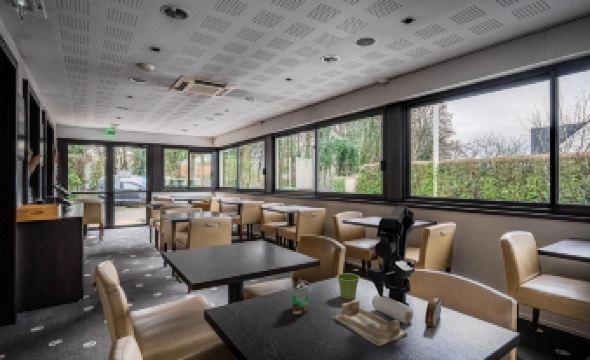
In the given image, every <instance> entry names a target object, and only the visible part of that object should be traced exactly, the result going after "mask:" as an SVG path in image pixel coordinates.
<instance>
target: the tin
mask: <svg viewBox="0 0 590 360" xmlns="http://www.w3.org/2000/svg"><path fill="white" fill-rule="evenodd" d="M442 300H443V298H442V296H439V295H437V294H432V296H431V298H429V301H428V302H427V306H426V310H425V317H424V321H425V322H424V324H425V326H429V327H432V328H435V327H436V325H437V323H438V321H439V320H440V318H441V317H440V316H441V313H442V302H443V301H442Z"/></svg>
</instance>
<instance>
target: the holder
mask: <svg viewBox="0 0 590 360" xmlns="http://www.w3.org/2000/svg"><path fill="white" fill-rule="evenodd" d="M334 320H335V321H337V322H338V323H340V324H341V325H343V326H345V327H347V329H349V330H351V331H353V332H354V333H356V334H357V335H359V336H361V337H362V338H364V339H365V340H367V341H369V342H370V343H372V344H373V345H376V346H377V347H380V346H382V345H385V344H387V343H388V344H389V343H391V342H393V341H396V340H399V339H400V338H403V337H406V336H408V332H407V331H406V330H404V329H402V328H401V327H400V323H401V322H400V321H398V320H396V319H393V320H390V321H388V320H386V319H384V318H382V317H380V316H378V315H376V314H374V313H373V312H370V311H369V310H367V309H364V308H363V307H360V301H359V300H357V299H355V300H352V301H347V302H345V303H341V313H339V314H338V315H334Z"/></svg>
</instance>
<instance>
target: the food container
mask: <svg viewBox="0 0 590 360" xmlns="http://www.w3.org/2000/svg"><path fill="white" fill-rule="evenodd" d="M311 292H312V287H311V283H310V282H309V281H307V280H303V279H297V284H295V287H294V288H293V289H291V296H292V297H291V298H292V299H291V300H292V303H291V304H292V316H294V317H295V316H298V317H299V316H304V315H307V313H309V306H310V305H309V304H310V303H309V302H310V293H311Z"/></svg>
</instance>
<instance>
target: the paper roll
mask: <svg viewBox="0 0 590 360" xmlns="http://www.w3.org/2000/svg"><path fill="white" fill-rule="evenodd" d="M371 306H372V308H373V309H374V310H376V311H378V312H380V313H382V314H384V315H386V316H388V317H390V318H393V320H398V321H400V323H402V324H404V325H407V324H409V323H411V321H412V319H413V318H414V317H413V316H414V310H413V308H412V307H411V306H410V305H408V306H407V305H405V304H402V303H400V302H398V301H395V300H393V299H391V298H389V296H386V295H384V294H383V297H380V296H379V294H378V293H376V294H375V295H374V296H373V298H372V299H371Z"/></svg>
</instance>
